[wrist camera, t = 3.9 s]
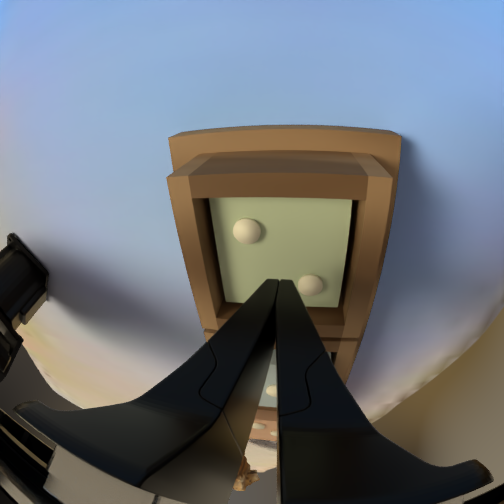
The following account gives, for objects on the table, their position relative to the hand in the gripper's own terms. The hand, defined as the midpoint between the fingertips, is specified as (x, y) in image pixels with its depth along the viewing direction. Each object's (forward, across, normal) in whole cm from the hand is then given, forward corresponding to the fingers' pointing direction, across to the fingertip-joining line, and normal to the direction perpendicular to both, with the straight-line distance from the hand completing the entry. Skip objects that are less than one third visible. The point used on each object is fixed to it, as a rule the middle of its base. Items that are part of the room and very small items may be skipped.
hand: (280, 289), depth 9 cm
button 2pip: (+4, 0, 0) cm, 4 cm away
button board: (+6, 0, +8) cm, 9 cm away
